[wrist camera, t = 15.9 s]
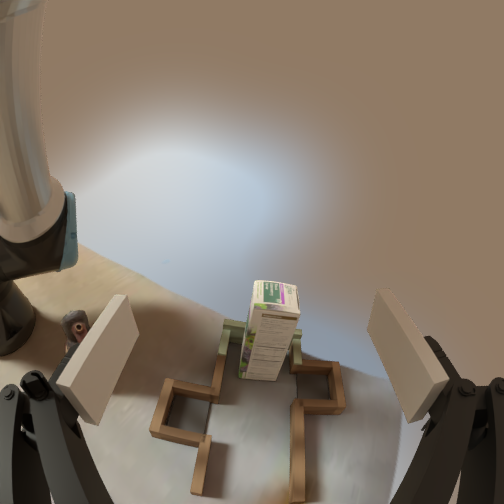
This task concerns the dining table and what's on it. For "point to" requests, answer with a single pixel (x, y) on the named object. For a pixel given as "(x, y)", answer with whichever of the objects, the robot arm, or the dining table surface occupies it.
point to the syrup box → (268, 329)
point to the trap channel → (199, 398)
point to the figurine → (75, 327)
